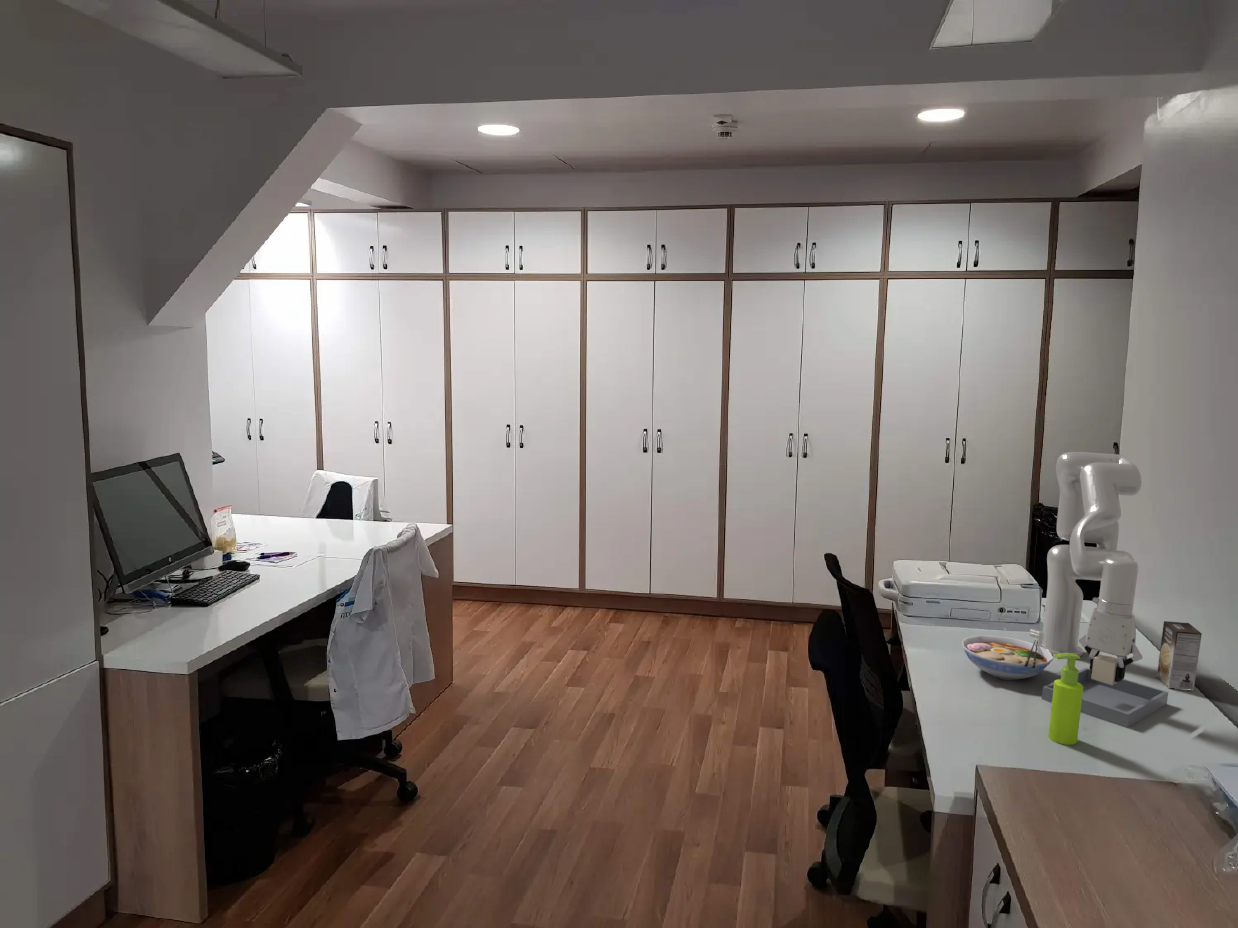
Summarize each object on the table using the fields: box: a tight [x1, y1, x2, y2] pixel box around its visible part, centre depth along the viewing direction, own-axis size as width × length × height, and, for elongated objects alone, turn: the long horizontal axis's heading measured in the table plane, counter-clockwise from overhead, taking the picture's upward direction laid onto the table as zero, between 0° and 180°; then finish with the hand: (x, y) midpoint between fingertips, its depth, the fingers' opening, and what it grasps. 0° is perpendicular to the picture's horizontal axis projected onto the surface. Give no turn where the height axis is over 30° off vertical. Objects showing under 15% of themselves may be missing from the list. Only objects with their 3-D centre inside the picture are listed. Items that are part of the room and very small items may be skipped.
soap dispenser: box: [1047, 653, 1083, 746], centre depth 201 cm, size 6×7×20 cm
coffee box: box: [1156, 620, 1203, 690], centre depth 239 cm, size 9×6×16 cm
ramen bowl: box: [961, 635, 1054, 681], centre depth 241 cm, size 25×23×8 cm
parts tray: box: [1041, 667, 1169, 729], centre depth 224 cm, size 20×24×4 cm
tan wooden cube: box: [1091, 653, 1118, 685], centre depth 223 cm, size 5×5×6 cm
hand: (1106, 676), depth 223 cm, fingers closed on tan wooden cube, 5 cm apart
